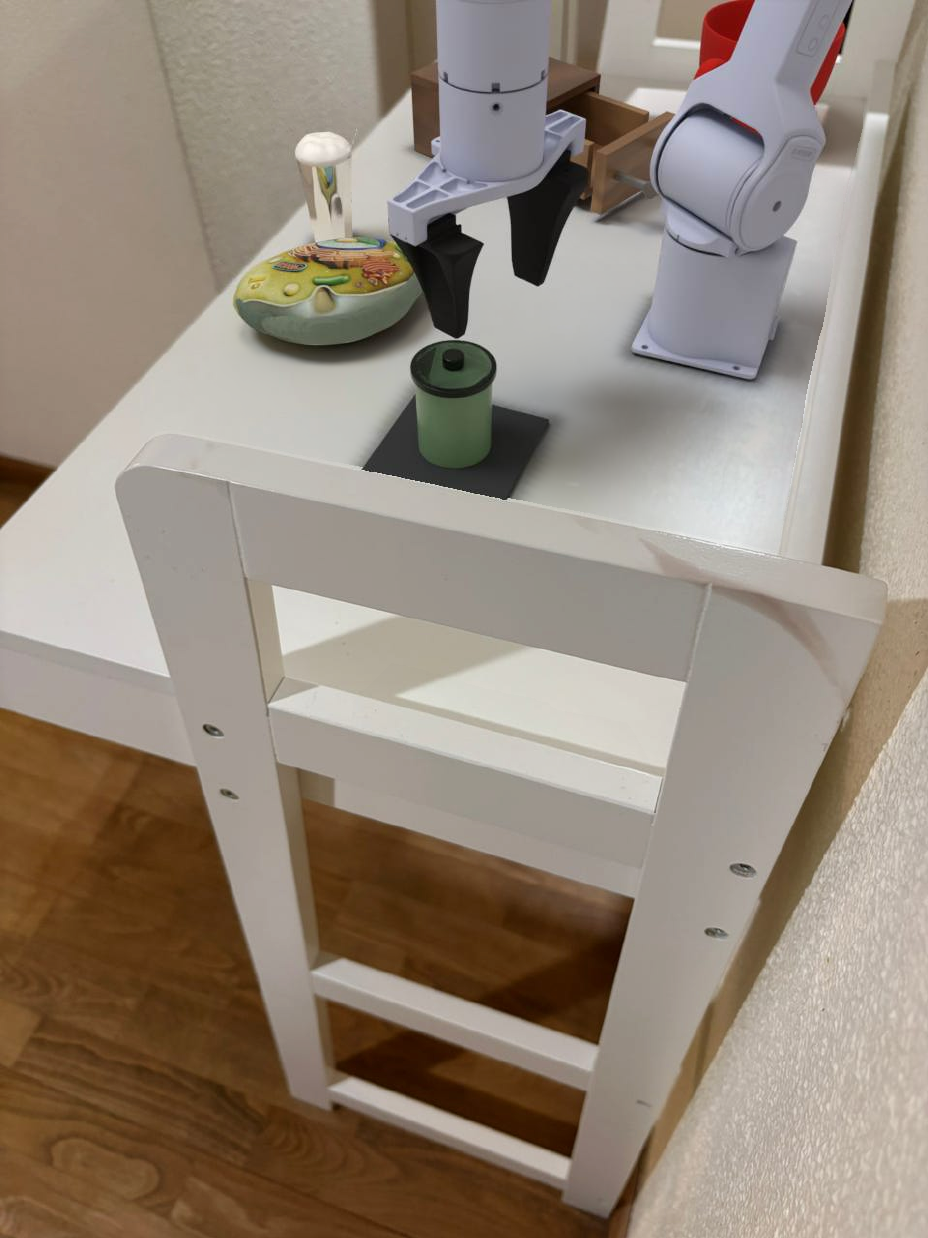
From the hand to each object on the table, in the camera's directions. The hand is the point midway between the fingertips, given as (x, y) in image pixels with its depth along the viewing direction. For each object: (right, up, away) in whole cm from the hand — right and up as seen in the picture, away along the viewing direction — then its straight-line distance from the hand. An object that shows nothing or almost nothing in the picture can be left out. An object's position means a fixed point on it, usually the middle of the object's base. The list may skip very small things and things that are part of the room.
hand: (490, 304), depth 59 cm
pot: (-2, -8, +5) cm, 10 cm away
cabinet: (+2, +27, +33) cm, 43 cm away
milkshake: (-13, +13, +23) cm, 29 cm away
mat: (-2, -8, +5) cm, 10 cm away
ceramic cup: (+26, +28, +35) cm, 52 cm away
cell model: (-12, +4, +16) cm, 20 cm away
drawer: (+11, +21, +28) cm, 36 cm away
